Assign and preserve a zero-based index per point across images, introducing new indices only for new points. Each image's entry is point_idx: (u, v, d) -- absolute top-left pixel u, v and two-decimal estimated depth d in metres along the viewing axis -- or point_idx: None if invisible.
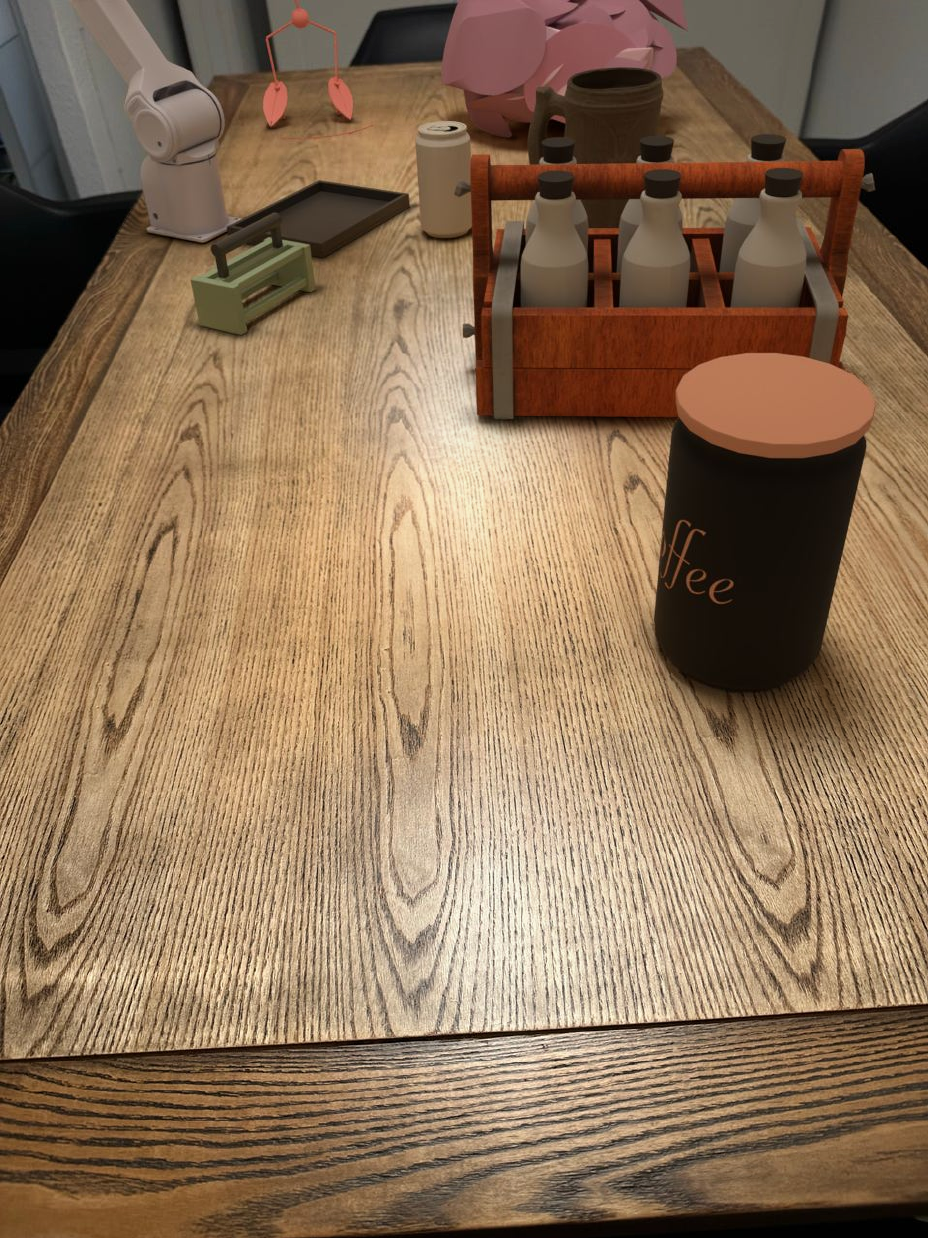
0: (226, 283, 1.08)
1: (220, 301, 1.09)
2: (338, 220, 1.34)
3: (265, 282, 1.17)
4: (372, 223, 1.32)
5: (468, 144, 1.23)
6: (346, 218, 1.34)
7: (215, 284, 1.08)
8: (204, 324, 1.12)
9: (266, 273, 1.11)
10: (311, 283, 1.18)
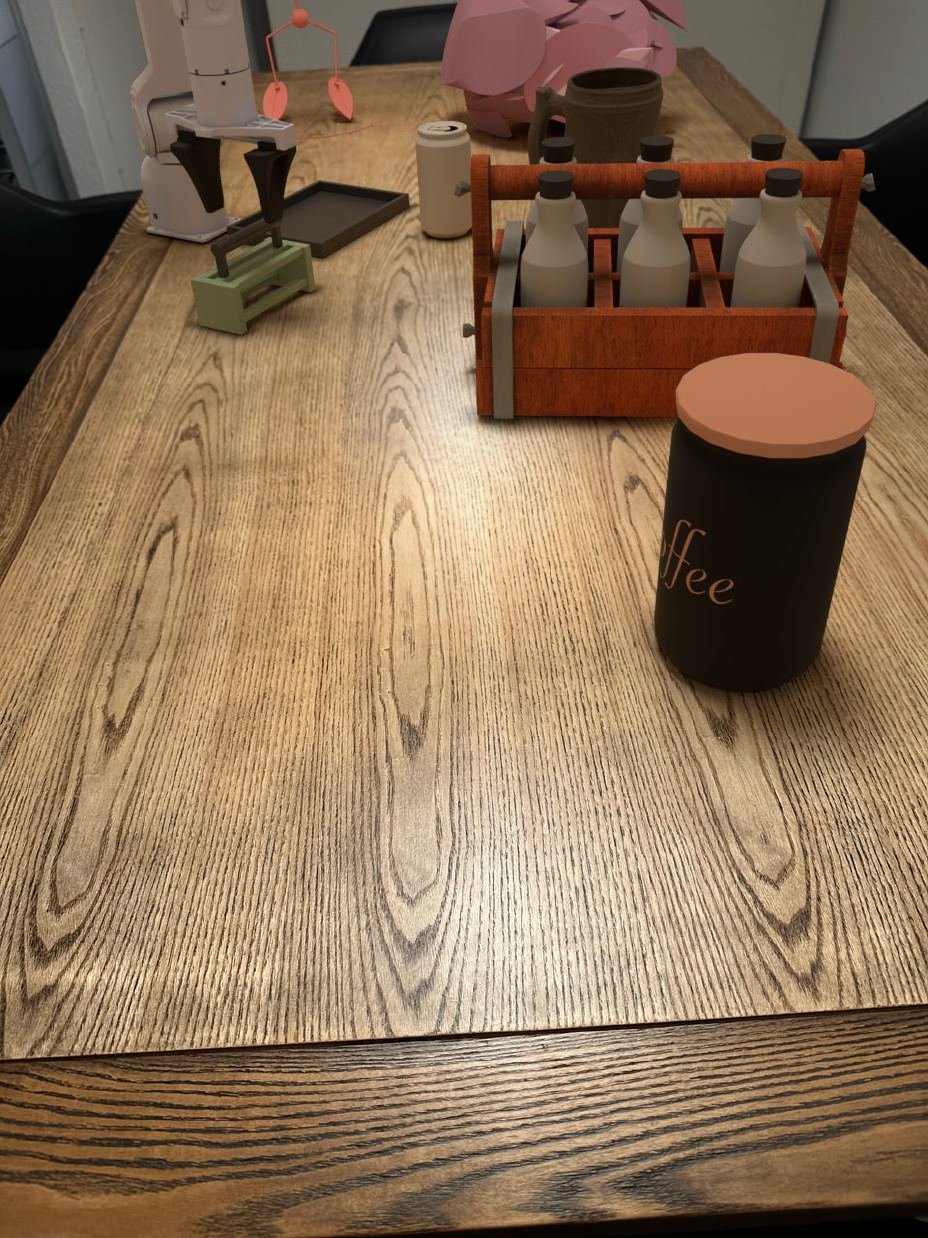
0: (226, 283, 1.08)
1: (220, 301, 1.09)
2: (338, 220, 1.34)
3: (265, 282, 1.17)
4: (372, 223, 1.32)
5: (468, 144, 1.23)
6: (346, 218, 1.34)
7: (215, 284, 1.08)
8: (204, 324, 1.12)
9: (266, 273, 1.11)
10: (311, 283, 1.18)
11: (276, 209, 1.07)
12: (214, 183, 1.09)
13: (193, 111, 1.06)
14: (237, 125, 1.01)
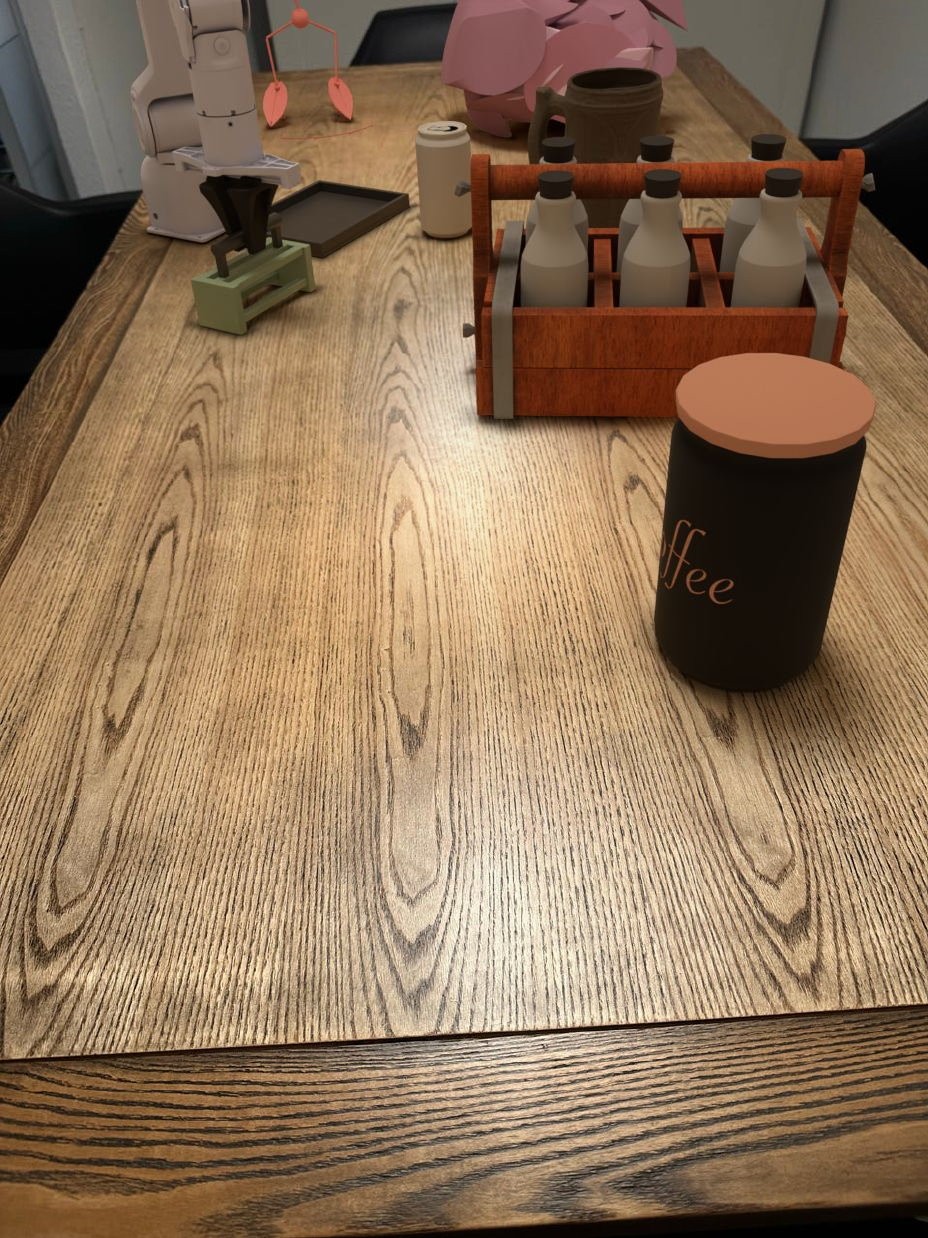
0: (226, 283, 1.08)
1: (220, 300, 1.09)
2: (338, 220, 1.34)
3: (265, 282, 1.17)
4: (372, 223, 1.32)
5: (468, 144, 1.23)
6: (346, 218, 1.34)
7: (215, 284, 1.08)
8: (204, 324, 1.12)
9: (266, 273, 1.11)
10: (311, 283, 1.18)
11: (259, 240, 1.10)
12: None
13: (200, 149, 1.08)
14: (243, 164, 1.04)
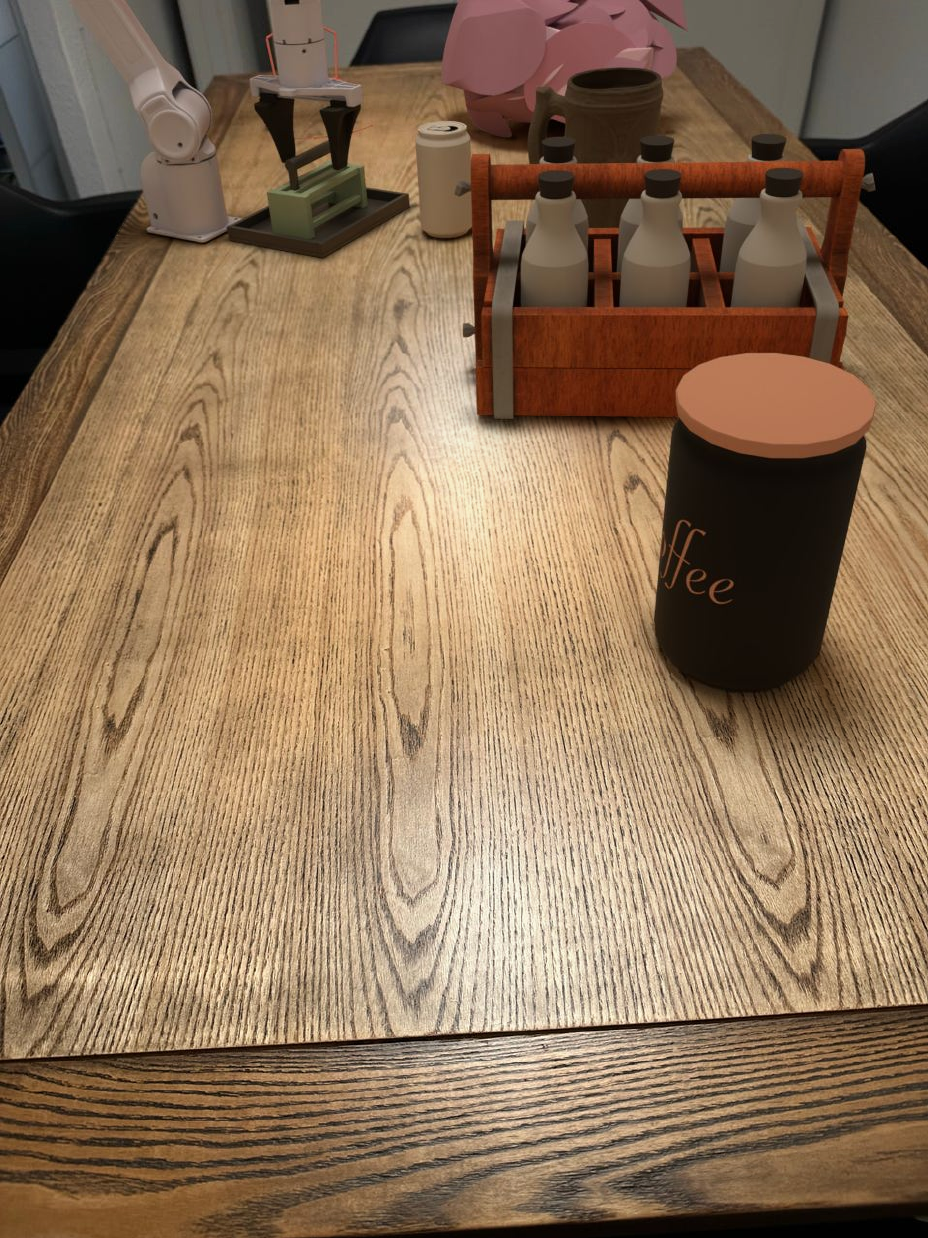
0: (298, 194, 1.27)
1: (292, 209, 1.28)
2: (338, 220, 1.34)
3: (324, 199, 1.36)
4: (372, 223, 1.32)
5: (468, 144, 1.23)
6: (346, 218, 1.34)
7: (289, 195, 1.27)
8: (277, 232, 1.31)
9: (330, 187, 1.30)
10: (364, 200, 1.37)
11: (343, 158, 1.28)
12: (288, 137, 1.30)
13: (272, 76, 1.27)
14: (314, 86, 1.22)
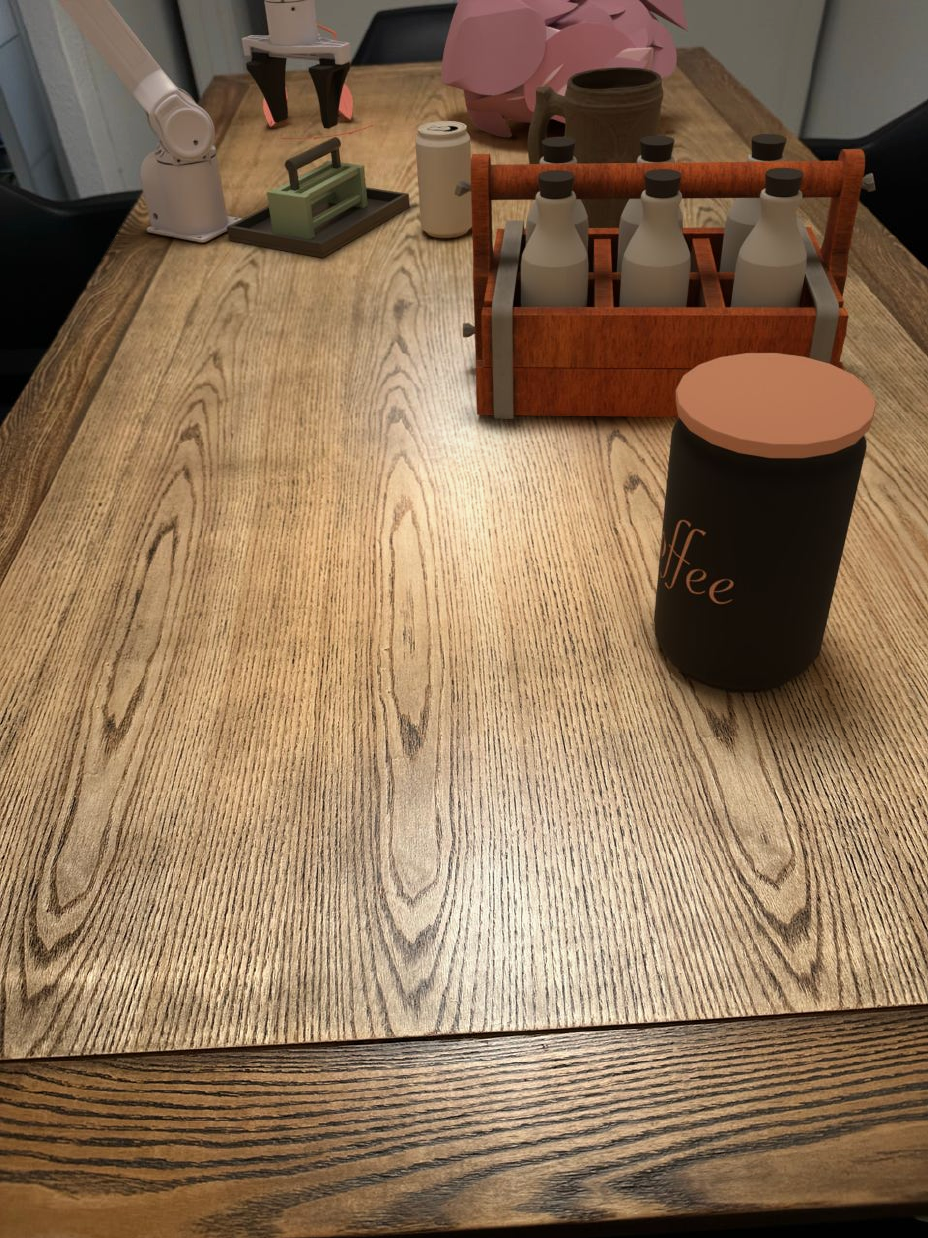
0: (298, 194, 1.27)
1: (292, 209, 1.28)
2: (338, 220, 1.34)
3: (324, 199, 1.36)
4: (372, 223, 1.32)
5: (468, 144, 1.23)
6: (346, 218, 1.34)
7: (289, 195, 1.27)
8: (277, 232, 1.31)
9: (330, 187, 1.30)
10: (364, 200, 1.37)
11: None
12: None
13: (326, 46, 1.24)
14: None
